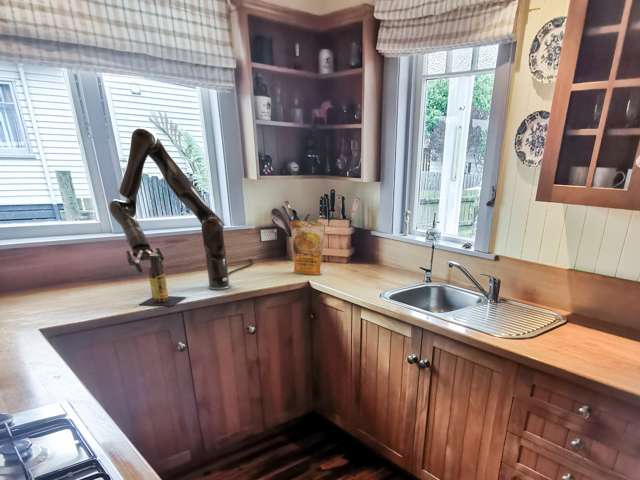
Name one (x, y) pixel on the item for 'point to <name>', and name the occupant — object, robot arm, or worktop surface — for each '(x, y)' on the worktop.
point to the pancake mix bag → (307, 246)
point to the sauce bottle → (157, 280)
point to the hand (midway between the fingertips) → (151, 270)
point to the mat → (169, 303)
